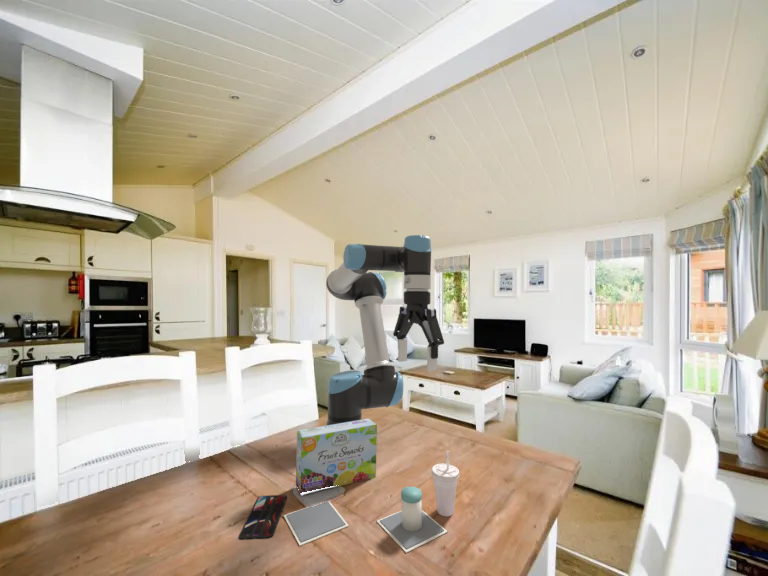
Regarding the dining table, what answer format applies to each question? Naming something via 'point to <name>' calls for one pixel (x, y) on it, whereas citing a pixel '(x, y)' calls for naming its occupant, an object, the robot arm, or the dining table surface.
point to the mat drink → (411, 539)
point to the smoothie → (445, 486)
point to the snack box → (336, 454)
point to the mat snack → (314, 522)
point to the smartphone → (263, 517)
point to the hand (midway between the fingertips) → (416, 365)
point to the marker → (411, 508)
